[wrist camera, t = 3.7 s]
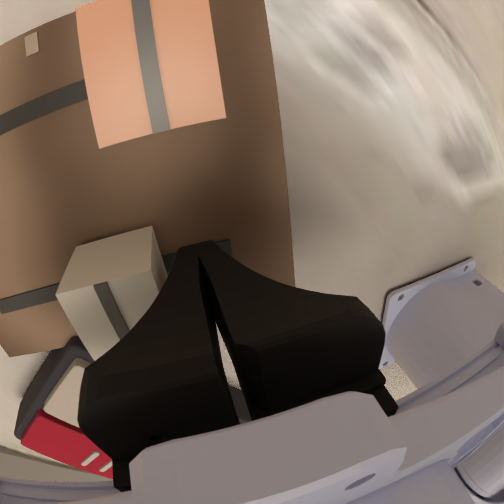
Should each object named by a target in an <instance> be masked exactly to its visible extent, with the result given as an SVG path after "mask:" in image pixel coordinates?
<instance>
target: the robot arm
mask: <svg viewBox="0 0 504 504" xmlns="http://www.w3.org/2000/svg"><path fill="white" fill-rule="evenodd" d="M475 266H476V260H475V259H474V258H470V259H468V260H466V261H464V262H461V263H459V264H457V265H455V266H452V267H450V268H448V269H446V270H443V271H441V272H439V273H436V274H434V275H432V276H429V277H427V278H424V279H422V280H420V281H417V282H415V283H412V284H410V285H407V286H405V287H402V288H400V289H397V290H395V291H392V292H391V293H390V294H389V295H388V296H387V299H386V305H385V311H384V316H383V322H382V323H381V322H380V321H379V320H378V319H377V318H376V316H375V315H374V314H373V313H372V312H371V311H370V309H369V308H368V307H367V306H366V305H365V304H363V303H362V302H361V301H360V300H359V299H358V298H357V297H354V296H343V295H333V294H324V293H319V292H314V291H309V290H304V289H300V288H296V287H293V286H290V285H286V284H283V283H280V282H277V281H275V280H272V279H270V278H268V277H265V276H263V275H261V274H259V273H257V272H255V271H253V270H251V269H250V268H248V267H246V266H245V265H243V264H242V263H240V262H239V261H237V260H236V259H234V258H233V257H232V256H230V255H229V254H228V253H227V252H225V251H224V250H223V249H222V248H221V247H220V246H218V245H217V244H216V243H215V242H214V241H213V240H208V241H204V242H200V243H196V244H192V245H188V246H184V247H180V248H179V249H178V251H177V254H176V257H175V260H174V262H173V265H172V267H171V270H170V272H169V274H168V276H167V279H166V281H165V283H164V284H163V286H162V288H161V290H160V292H159V294H158V295H157V297H156V299H155V300H154V302H153V303H152V305H151V306H150V308H149V309H148V310H147V312H146V313H145V314H144V315H143V316H142V318H141V319H140V320H139V321H138V322H137V323H136V324H135V326H134V327H133V328H132V329H131V330H130V331H129V332H128V333H127V334H126V335H125V336H124V337H123V338H122V339H121V340H120V341H119V342H118V343H117V344H115V345H114V346H113V347H112V348H111V349H110V350H108V351H107V352H106V353H105V354H103V355H102V356H101V357H99V358H98V359H97V360H95V361H94V362H93V363H91V364H90V365H89V366H87V367H86V368H85V369H84V373H83V377H82V382H81V387H80V395H79V404H78V415H77V421H78V424H79V427H80V429H81V430H82V432H83V433H84V434H85V435H86V437H87V438H89V439H90V440H91V441H92V442H93V443H94V444H95V445H96V446H97V447H98V448H100V449H101V450H102V451H103V452H104V453H105V454H106V455H108V456H109V457H110V458H111V459H112V469H113V481H99V482H57V481H38V480H25V479H16V478H8V477H1V476H0V504H504V293H503V292H502V291H500V290H499V289H498V288H497V287H496V286H494V285H493V284H492V283H491V282H489V281H488V280H487V279H485V278H484V277H483V276H482V275H480V274H479V273H478V272H476V271H475V270H474V269H475ZM215 321H216V322H215ZM216 324H217V326H218V329H219V331H220V334H221V336H222V338H223V341H224V343H225V346H226V348H227V350H228V353H229V355H230V357H231V360H232V363H233V365H234V368H235V371H236V374H237V377H238V380H239V384H240V387H241V390H242V393H243V396H244V399H245V402H246V405H247V408H248V411H249V414H250V417H251V420H252V421H251V422H247V423H244V424H240V421H239V418H238V415H237V412H236V409H235V405H234V402H233V399H232V396H231V392H230V389H229V386H228V382H227V379H226V375H225V372H224V368H223V363H222V358H221V352H220V346H219V340H218V334H217V328H216ZM394 362H397V363H398V364H399V366H400V367H401V368H402V369H403V371H404V372H405V373H406V375H407V376H408V377H409V378H410V380H411V381H412V382H413V384H414V385H415V386H416V388H417V390H416V391H414V392H412V393H410V394H408V395H406V396H405V397H403V398H401V399H399V400H397V401H395V400H394V399H393V397H392V396H391V395H390V393H389V392H388V390H387V389H386V388H385V386H384V384H385V382H386V379H385V377H384V375H383V374H382V373H381V371H380V370H379V369H382V368H384V367H386V366H388V365H390V364H392V363H394Z"/></svg>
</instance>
